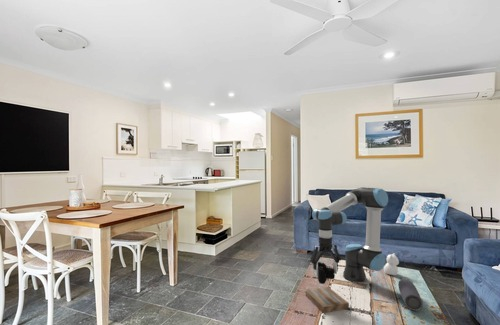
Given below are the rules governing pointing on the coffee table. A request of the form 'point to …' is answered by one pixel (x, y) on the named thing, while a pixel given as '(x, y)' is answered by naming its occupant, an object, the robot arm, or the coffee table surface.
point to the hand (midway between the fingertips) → (325, 274)
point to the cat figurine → (391, 265)
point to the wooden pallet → (327, 299)
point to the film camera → (324, 273)
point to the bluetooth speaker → (410, 294)
